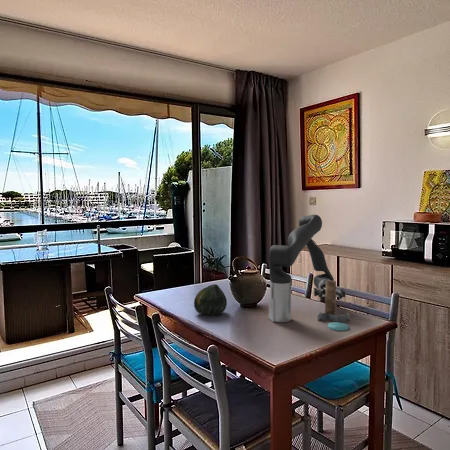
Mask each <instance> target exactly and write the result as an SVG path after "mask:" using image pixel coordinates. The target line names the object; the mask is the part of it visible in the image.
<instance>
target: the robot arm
mask: <svg viewBox="0 0 450 450" xmlns="http://www.w3.org/2000/svg"><path fill="white" fill-rule="evenodd" d="M298 225H299V226H297V227H295V228H294V229H292V231H291V232H290V233H289V235H288V237H287V244H288V245H280V244H273V245H271V247H270V248H269V252H268V265H269V279H270V282H269V286H270V287H269V288H270V290H269V291H270V295H269V297H268V319H269V320H270V321H271V322H273V323H274V322H275V323H288V322H290V321H292V276H291V274H289V273H288V272H285V270H283V269H282V268H281V267H285V268H288V267H289V268H290V267H292V266H293V265H294V264H295V262H296V261H297V258H298V256H299V255H300V253H301V252H302V251H303V250H304V248H305V247H306V248H307V250H308V252H309V255H310V256H309V257H310V258H311V259H310V260H311V263H312V267H313V270H314V271H316V272H324V273H322V274H317V275H315V276H314V277H313V280H312V281H313V284H314V286H315V287H314V288H313V296H314V297H318V298H320V299H323V297H324V298H325V288H326V281H328V280H331V281H335V280H334V276H333V275H332V272H331V271H330V270H329V268H328V265H327V261H326V258H325V254H324V252H323V250H322V249H321V248H320V247H319V245H317V243H316V242H315V241H314V240H313V239H312V238H313V237H314V236H315V235H316V234H317V233H319V232H320V231H321V229H322V227H323V220H322V218H321V216H320V215H318V214H309V215H304V216H301V217H300V218H299V220H298ZM336 298H338V299H339V300H342V299H343V298H346V291H345V289H344V288H341V289H337V288H336Z"/></svg>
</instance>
